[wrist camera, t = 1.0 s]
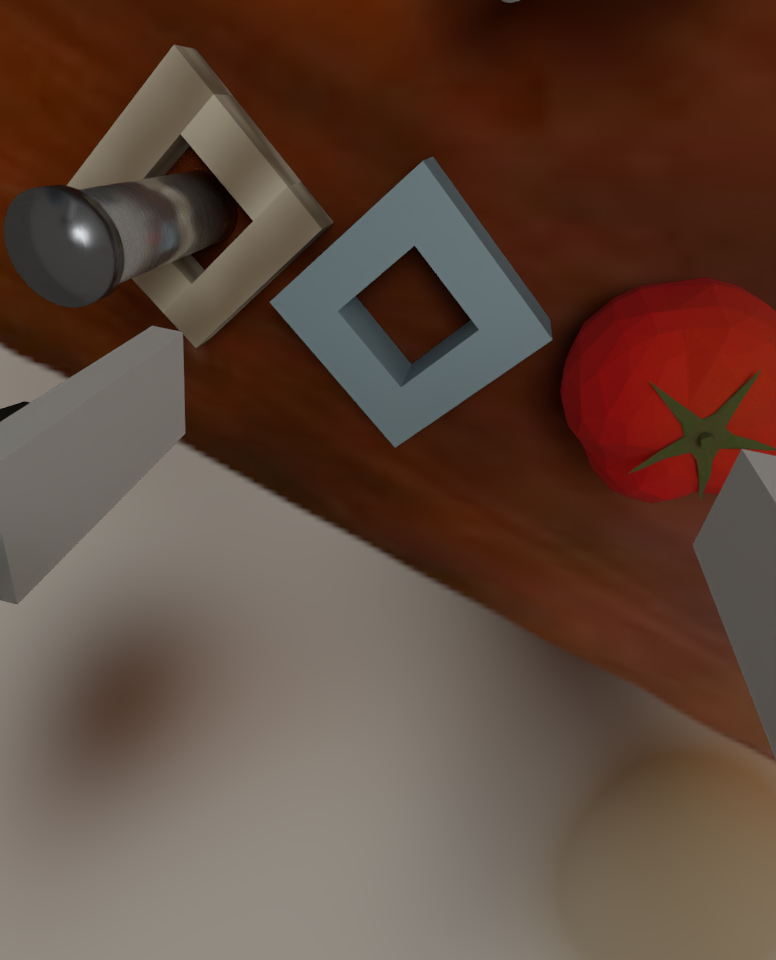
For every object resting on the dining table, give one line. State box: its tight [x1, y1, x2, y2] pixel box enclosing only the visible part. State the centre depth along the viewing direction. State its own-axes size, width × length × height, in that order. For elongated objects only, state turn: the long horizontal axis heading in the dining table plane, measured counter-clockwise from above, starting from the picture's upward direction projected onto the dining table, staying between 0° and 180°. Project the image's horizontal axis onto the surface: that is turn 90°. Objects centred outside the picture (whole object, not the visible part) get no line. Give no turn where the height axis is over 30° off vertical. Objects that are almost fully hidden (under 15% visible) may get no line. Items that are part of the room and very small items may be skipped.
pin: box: [4, 170, 238, 307], centre depth 32 cm, size 5×5×14 cm
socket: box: [270, 157, 553, 447], centre depth 36 cm, size 11×11×4 cm
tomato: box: [560, 277, 776, 503], centre depth 33 cm, size 12×12×10 cm
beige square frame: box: [67, 45, 334, 348], centre depth 37 cm, size 11×11×2 cm
